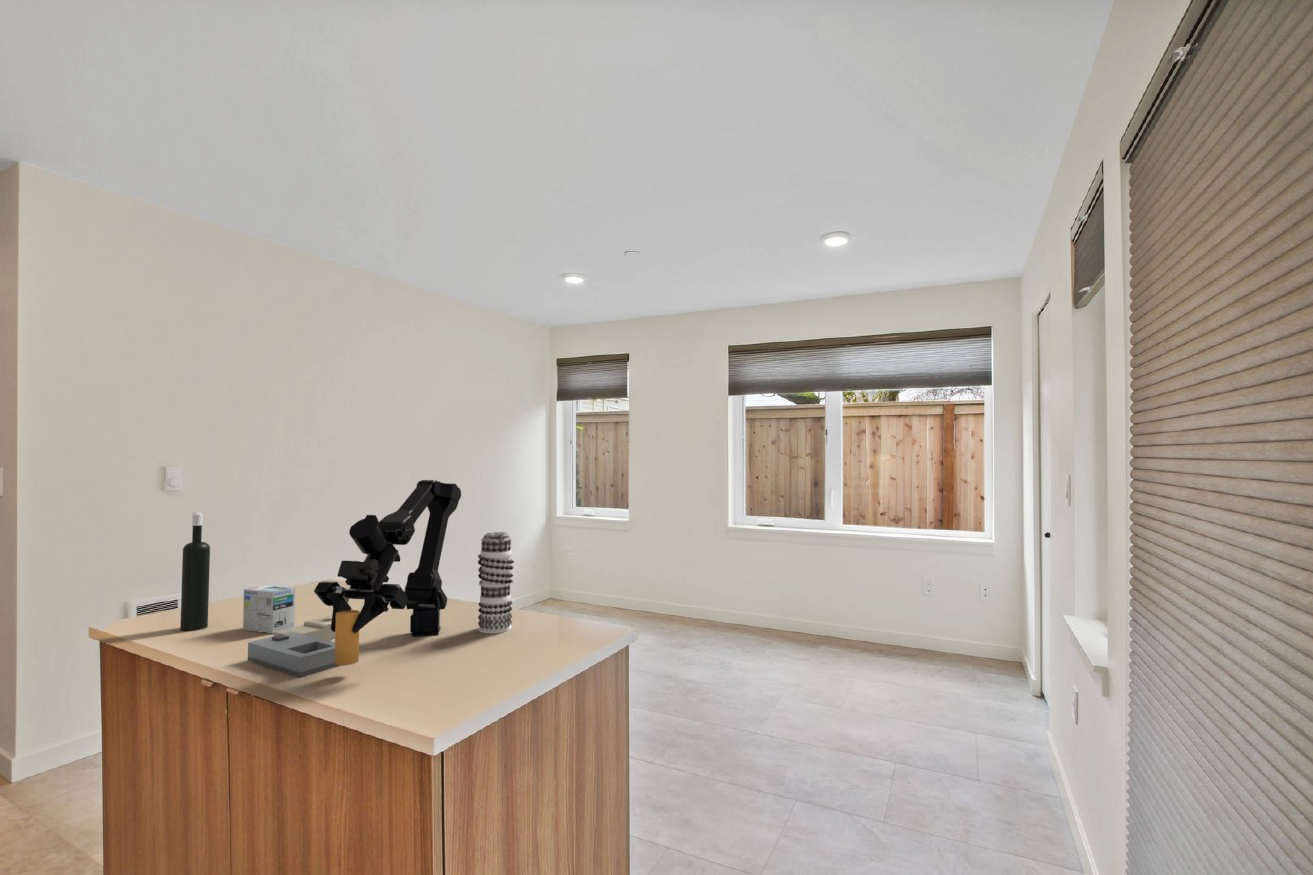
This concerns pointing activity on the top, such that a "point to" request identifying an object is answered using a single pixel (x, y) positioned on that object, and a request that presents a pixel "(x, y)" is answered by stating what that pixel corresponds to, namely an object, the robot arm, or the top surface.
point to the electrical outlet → (313, 628)
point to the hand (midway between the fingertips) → (343, 631)
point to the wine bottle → (195, 579)
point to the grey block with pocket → (293, 653)
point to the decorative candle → (495, 583)
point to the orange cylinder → (346, 638)
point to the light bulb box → (269, 608)
